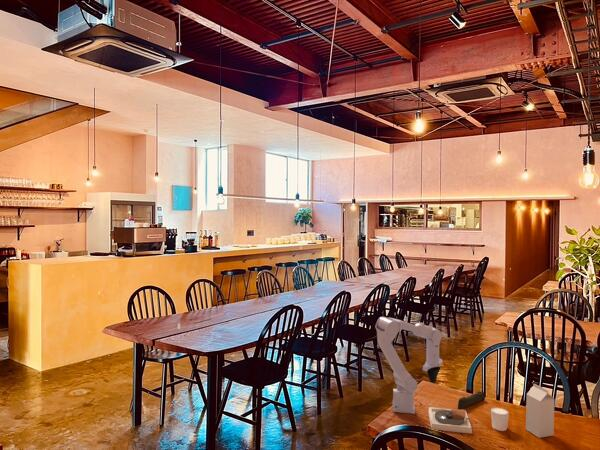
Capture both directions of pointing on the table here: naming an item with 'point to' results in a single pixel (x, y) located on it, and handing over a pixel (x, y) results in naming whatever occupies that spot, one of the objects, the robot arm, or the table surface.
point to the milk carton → (540, 412)
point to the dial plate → (447, 427)
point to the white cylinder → (499, 418)
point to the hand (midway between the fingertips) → (432, 382)
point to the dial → (451, 416)
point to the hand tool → (470, 400)
